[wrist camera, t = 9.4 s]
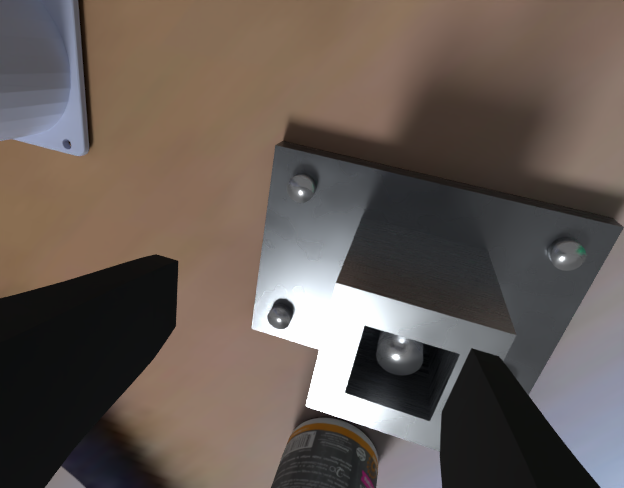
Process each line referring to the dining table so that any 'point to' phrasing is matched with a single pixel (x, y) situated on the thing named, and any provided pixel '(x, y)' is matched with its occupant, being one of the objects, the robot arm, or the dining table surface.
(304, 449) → the pill bottle
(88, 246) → the dining table surface
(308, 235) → the dark grey mounting plate
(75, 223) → the dining table surface
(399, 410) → the grey square socket
